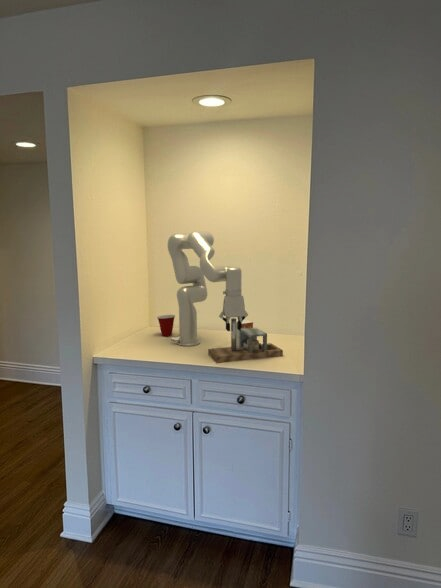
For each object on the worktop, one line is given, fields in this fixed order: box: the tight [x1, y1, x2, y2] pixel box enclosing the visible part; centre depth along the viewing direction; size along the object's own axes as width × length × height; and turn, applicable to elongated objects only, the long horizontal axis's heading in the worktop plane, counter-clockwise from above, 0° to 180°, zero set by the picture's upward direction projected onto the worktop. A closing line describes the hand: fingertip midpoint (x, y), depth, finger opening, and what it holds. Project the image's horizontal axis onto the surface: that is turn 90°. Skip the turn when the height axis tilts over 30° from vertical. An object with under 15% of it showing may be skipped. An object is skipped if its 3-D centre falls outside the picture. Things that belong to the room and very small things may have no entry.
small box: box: [236, 319, 254, 346], centre depth 229 cm, size 8×6×13 cm
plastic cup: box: [156, 314, 176, 337], centre depth 253 cm, size 11×11×12 cm
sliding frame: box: [230, 317, 263, 351], centre depth 210 cm, size 15×7×16 cm, turn 108°
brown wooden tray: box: [207, 327, 284, 364], centre depth 210 cm, size 34×14×12 cm, turn 108°
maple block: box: [247, 338, 260, 350], centre depth 212 cm, size 4×4×4 cm
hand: (233, 329), depth 208 cm, fingers open, 4 cm apart
